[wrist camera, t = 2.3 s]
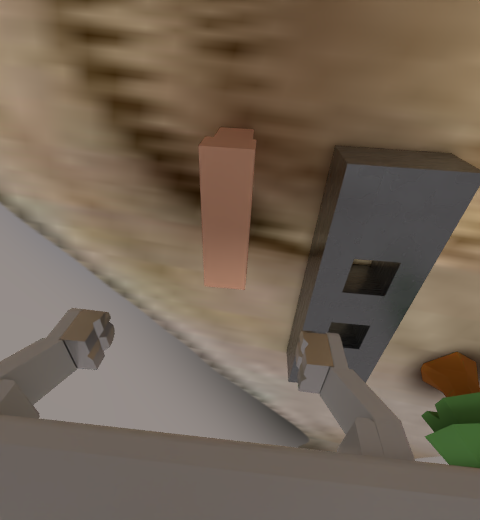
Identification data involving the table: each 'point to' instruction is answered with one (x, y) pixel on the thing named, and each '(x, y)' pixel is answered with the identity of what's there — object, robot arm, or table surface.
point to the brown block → (226, 205)
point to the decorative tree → (455, 409)
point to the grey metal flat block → (377, 245)
